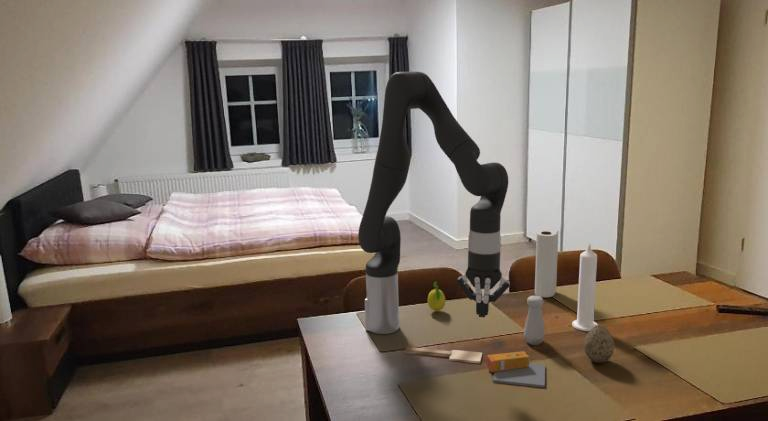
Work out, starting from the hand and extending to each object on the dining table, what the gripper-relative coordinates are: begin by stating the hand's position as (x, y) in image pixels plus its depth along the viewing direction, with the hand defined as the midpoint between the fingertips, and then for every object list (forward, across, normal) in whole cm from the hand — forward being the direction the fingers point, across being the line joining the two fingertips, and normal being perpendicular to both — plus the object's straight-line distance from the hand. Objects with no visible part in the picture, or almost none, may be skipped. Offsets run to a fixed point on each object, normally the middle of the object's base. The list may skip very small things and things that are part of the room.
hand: (482, 315), depth 140 cm
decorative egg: (+15, +28, +12) cm, 34 cm away
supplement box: (+13, +2, 0) cm, 13 cm away
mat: (+15, +9, +1) cm, 18 cm away
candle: (+15, +26, +33) cm, 45 cm away
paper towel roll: (+16, +15, +56) cm, 60 cm away
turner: (+15, -11, +7) cm, 20 cm away
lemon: (+16, -18, +35) cm, 42 cm away
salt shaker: (+15, +12, +20) cm, 28 cm away
